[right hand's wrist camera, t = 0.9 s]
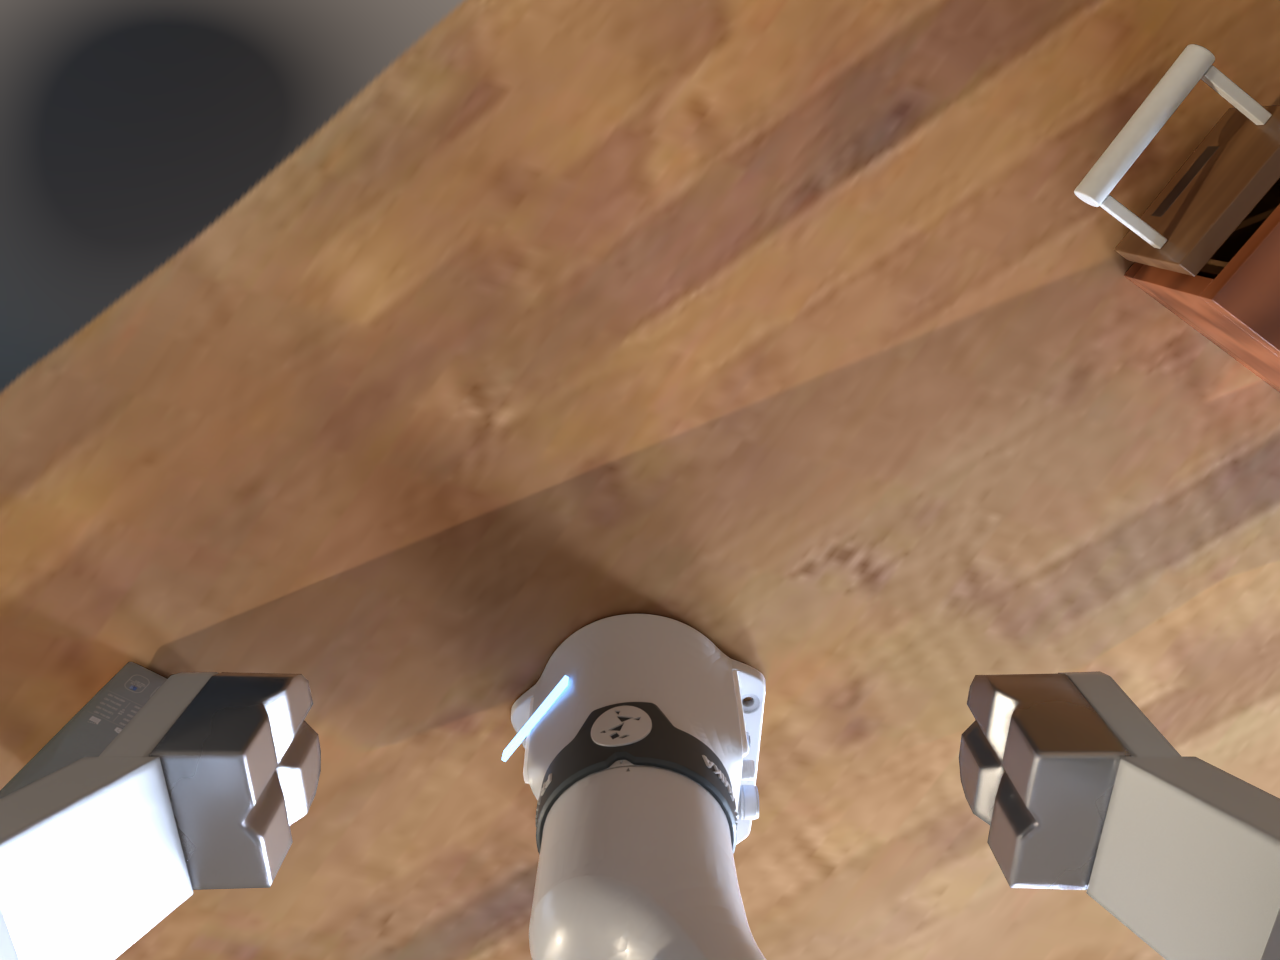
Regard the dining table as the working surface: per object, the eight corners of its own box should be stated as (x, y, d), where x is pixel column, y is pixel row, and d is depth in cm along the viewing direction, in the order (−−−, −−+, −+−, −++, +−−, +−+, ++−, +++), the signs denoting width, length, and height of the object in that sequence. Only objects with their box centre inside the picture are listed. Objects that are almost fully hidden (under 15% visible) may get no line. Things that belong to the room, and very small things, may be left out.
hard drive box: (129, 655, 62) (-89, 873, 44) (228, 703, 64) (58, 934, 45) (56, 799, 67) (-168, 1051, 48) (150, 840, 68) (-32, 1100, 50)
